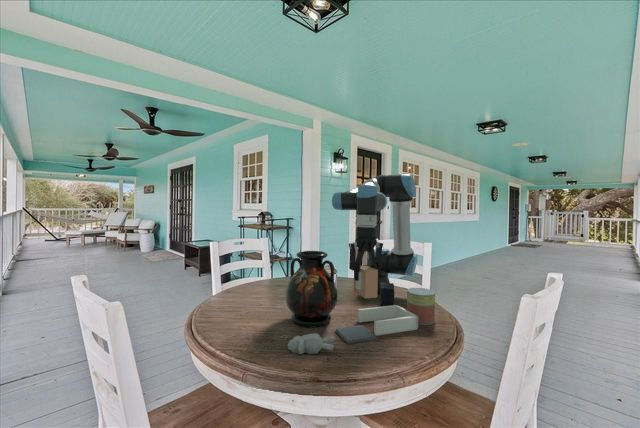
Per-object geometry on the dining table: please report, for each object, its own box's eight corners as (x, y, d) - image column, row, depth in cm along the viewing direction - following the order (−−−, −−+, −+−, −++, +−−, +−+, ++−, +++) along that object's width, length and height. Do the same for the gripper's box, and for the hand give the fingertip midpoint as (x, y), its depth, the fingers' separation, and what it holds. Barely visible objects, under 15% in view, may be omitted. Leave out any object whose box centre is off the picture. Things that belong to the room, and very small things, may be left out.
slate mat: (361, 327, 118) (361, 325, 118) (375, 339, 108) (376, 336, 108) (335, 331, 114) (335, 328, 114) (347, 343, 104) (347, 340, 104)
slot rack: (396, 316, 131) (397, 304, 130) (418, 329, 117) (418, 316, 117) (358, 321, 124) (358, 309, 124) (375, 335, 111) (375, 322, 111)
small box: (394, 311, 137) (394, 288, 136) (379, 310, 138) (380, 287, 138) (393, 304, 147) (394, 282, 147) (379, 303, 148) (380, 281, 148)
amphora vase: (275, 326, 119) (276, 255, 118) (298, 308, 139) (298, 248, 138) (327, 334, 111) (328, 258, 110) (343, 315, 131) (344, 250, 131)
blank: (365, 290, 118) (365, 265, 118) (377, 297, 110) (377, 269, 110) (353, 291, 117) (354, 266, 117) (365, 298, 108) (365, 270, 108)
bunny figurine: (291, 331, 104) (334, 329, 102) (293, 346, 104) (336, 344, 102) (284, 343, 95) (332, 341, 93) (286, 360, 95) (334, 358, 93)
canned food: (440, 321, 126) (441, 292, 125) (422, 327, 119) (423, 296, 119) (418, 313, 135) (418, 286, 135) (400, 318, 129) (401, 290, 129)
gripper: (348, 227, 106) (347, 293, 107) (392, 226, 113) (391, 289, 113) (340, 225, 113) (339, 287, 114) (382, 225, 120) (380, 284, 120)
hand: (365, 288), depth 113 cm, fingers closed on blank, 5 cm apart
